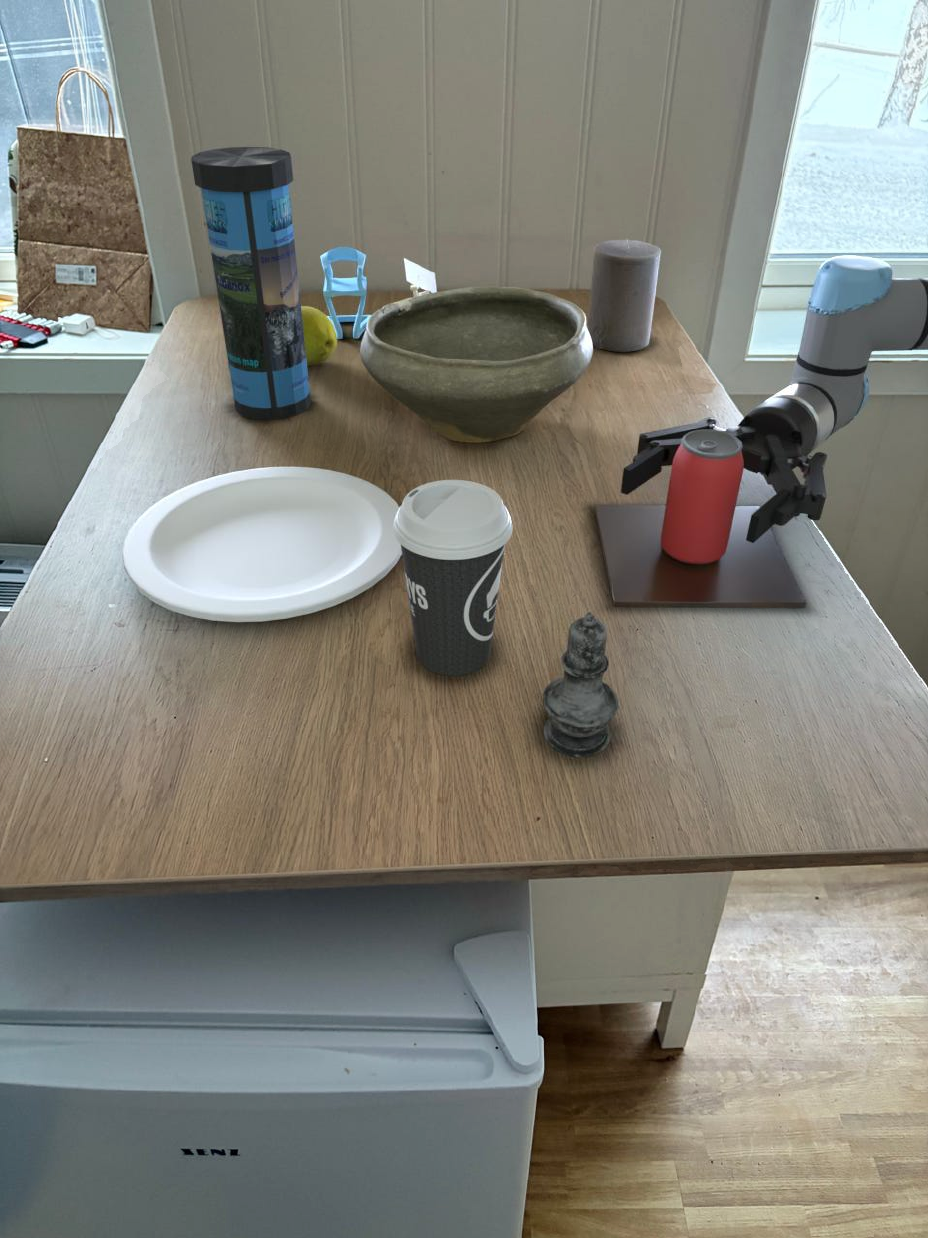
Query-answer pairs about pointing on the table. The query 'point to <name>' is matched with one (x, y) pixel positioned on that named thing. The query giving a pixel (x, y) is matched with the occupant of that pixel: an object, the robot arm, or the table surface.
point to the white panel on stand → (420, 278)
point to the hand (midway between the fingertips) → (686, 504)
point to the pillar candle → (623, 294)
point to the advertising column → (256, 276)
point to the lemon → (317, 335)
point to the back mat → (691, 565)
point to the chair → (345, 288)
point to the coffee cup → (453, 570)
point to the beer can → (702, 496)
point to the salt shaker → (581, 693)
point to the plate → (263, 544)
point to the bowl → (477, 357)
